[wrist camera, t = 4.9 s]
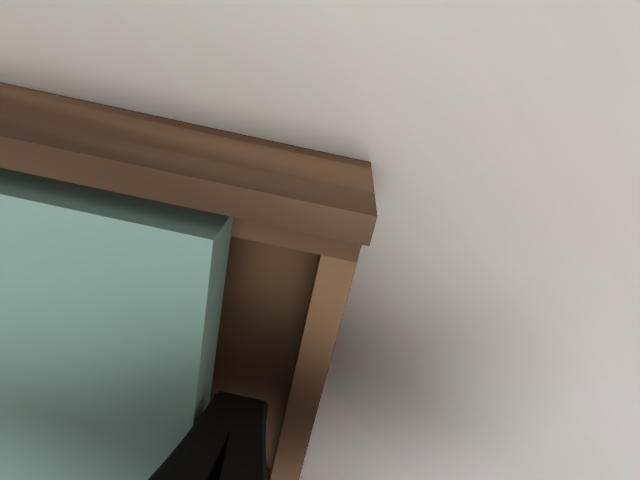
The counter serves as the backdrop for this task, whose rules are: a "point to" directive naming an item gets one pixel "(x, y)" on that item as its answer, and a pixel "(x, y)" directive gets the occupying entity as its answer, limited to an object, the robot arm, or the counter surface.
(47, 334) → the cover plate
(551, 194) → the counter surface
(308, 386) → the walnut box
